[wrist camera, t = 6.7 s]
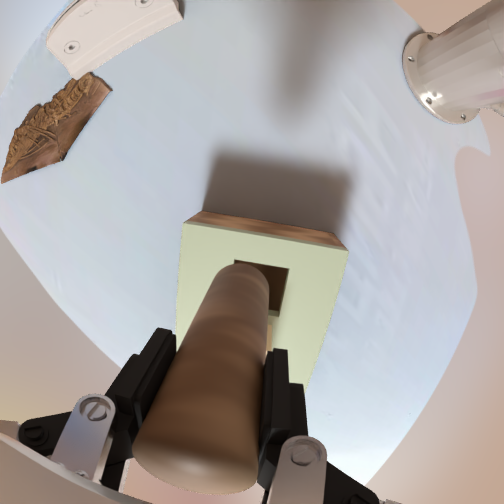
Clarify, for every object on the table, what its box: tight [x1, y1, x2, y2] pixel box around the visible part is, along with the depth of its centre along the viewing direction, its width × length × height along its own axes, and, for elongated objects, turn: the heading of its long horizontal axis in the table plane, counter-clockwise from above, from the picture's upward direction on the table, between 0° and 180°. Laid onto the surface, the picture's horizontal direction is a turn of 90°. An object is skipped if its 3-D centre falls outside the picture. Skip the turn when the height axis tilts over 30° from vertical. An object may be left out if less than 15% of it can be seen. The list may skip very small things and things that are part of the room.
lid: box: [175, 221, 349, 394], centre depth 27 cm, size 15×22×6 cm
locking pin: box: [132, 263, 269, 495], centre depth 12 cm, size 4×4×12 cm
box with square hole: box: [187, 211, 346, 311], centre depth 32 cm, size 15×22×6 cm
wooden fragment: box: [1, 72, 113, 184], centre depth 30 cm, size 26×11×1 cm, turn 109°
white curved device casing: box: [46, 0, 183, 80], centre depth 22 cm, size 17×5×10 cm, turn 111°
